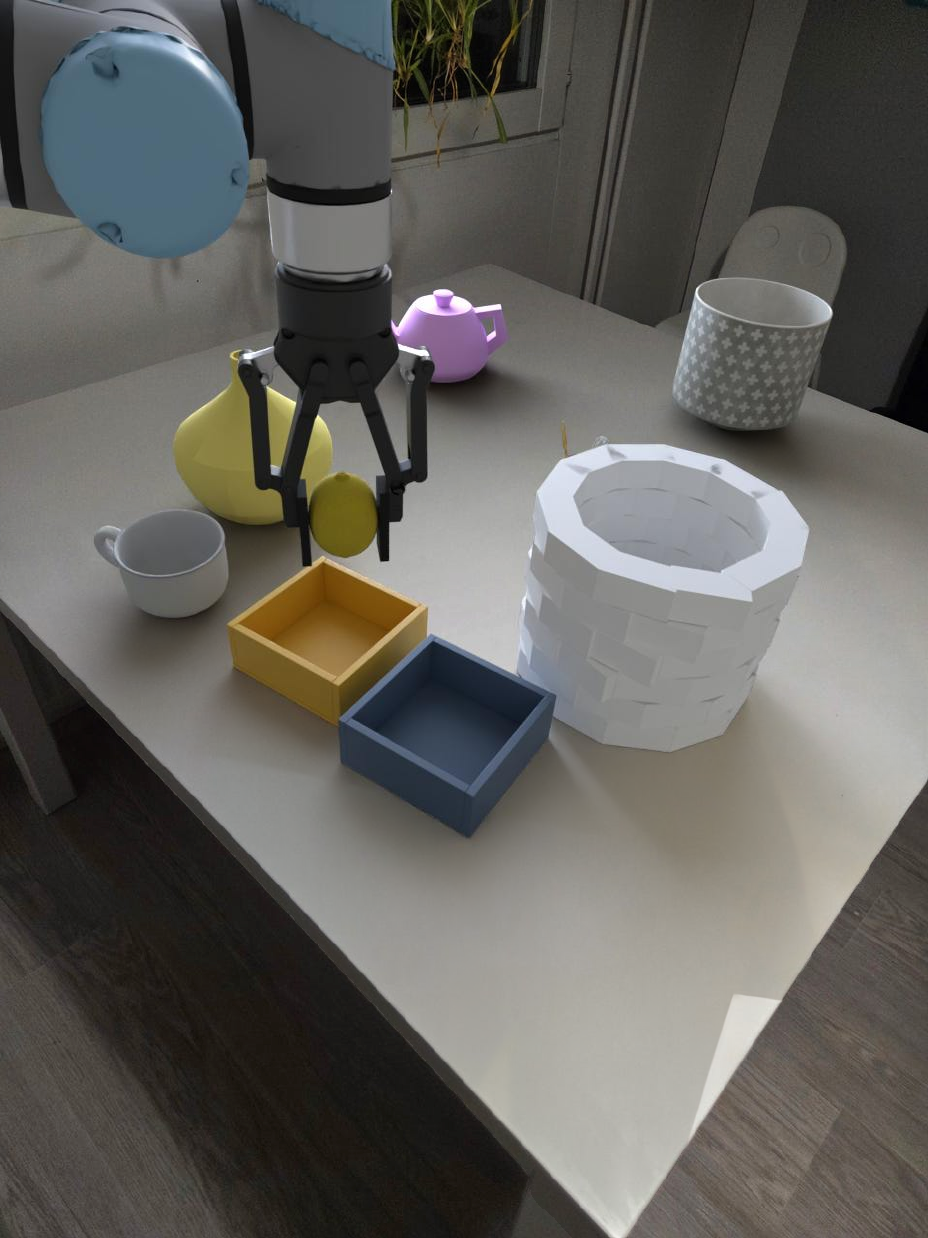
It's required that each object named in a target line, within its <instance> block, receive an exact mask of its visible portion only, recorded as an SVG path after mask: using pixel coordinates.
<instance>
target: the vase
mask: <svg viewBox="0 0 928 1238" xmlns="http://www.w3.org/2000/svg"><path fill="white" fill-rule="evenodd" d="M241 350H242V349H236V350H234V351H231V352H230V354H229V360H230V367H231V375H232V376H231V382H230V383H229V385H228V386H227V388H225V390H223V391H222V392H220V393H219V394H217V396H216V397H214V398H213V399H211V400H210V401H209V402H208V403H206V404H205V405H203V406H202V407H200V408H199V409H197V410H196V411H194V412H193V413H192V414H190V415H189V416H188V417H187V418H186V419H184V420H183V421H182V422H180V424H179V427H177V430H176V432H175V436H174V440H173V445H172V446H173V447H172V448H173V450H172V451H173V458H174V463H175V468H176V471H177V473H178V475H179V476H180V478H181V480H182V481H183V483H184V484H185V486H186V487H187V488H188V490H189V491H190V493H191V494H192V495H193V497H194V498H195V499H196V500H197V501H198V502H199V503H200V504H202V505H203V506H205V508H207V509H209V510H210V511H211V512H213V513H214V514H215V515H217V516H219V517H221V518H223V519H226V520H228V521H231V522H234V523H238V524H242V525H246V526H247V525H248V526H264V525H272V524H275V523H280V522H282V521H283V522H284V519H283V509H282V499H281V495H280V493H279V492H277V491H276V490H273V489H268V490H260V489H258V488H257V487H256V485H255V477H254V463H253V449H252V435H251V421H250V407H249V396H248V394H247V392H246V390H245V388H244V386H243V384H242V382H241V379H240V377H239V375H238V355H239V353H240V351H241ZM252 351H253V352H254V353H255V352H256V351H254V350H252ZM266 386H267V401H268V419H269V437H270V455H271V465H273V466H277V467H281V465H282V461H283V457H284V453H285V448H286V444H287V440H288V436H289V432H290V427H291V423H292V419H293V415H294V411H295V406H296V402H297V401H294V400H292V399H290V398H288V397H286V396H285V395H283V394H281V393H280V392H278V391H276V390H274V389H273V388H271V387H269V386H268V385H266ZM333 447H334V445H333V439H332V436H331V433H330V430H329V428H328V426H327V424H326V422H325V420H323V419H322V418H321V416H320V415H319V414H318V415H317V418H316V419H315V422H314V426H313V430H312V434H311V438H310V442H309V446H308V449H307V453H306V457H305V461H304V465H303V469H302V473H301V477H300V479H306V491H307V503H308V506H309V503H310V499H311V495H312V492H313V490H314V488H315V487H316V485H317V484H318V483H319V482H320V481H321V480H322V479H323V478H325V477H326V476H328V475H329V473H330V470H331V468H332V463H333V459H334V450H333Z"/></svg>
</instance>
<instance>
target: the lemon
mask: <svg viewBox="0 0 928 1238" xmlns="http://www.w3.org/2000/svg"><path fill="white" fill-rule="evenodd" d="M308 517H309V531H310V534H311V536H312V538H313V540H314V542H315V543H316V544H317V546H318V547H319V548H320V549H321V550H322V551H324V552H325V553H327V554H328V555H331V556H333V557H337V558H342V559H348V558H352V557H355V556H358V555H360V554H362V553H363V552H365V551H366V550H368V548H369V547H370V546H371V544H372V543H373V542H374V540H375V539H376V536H377V534H376V532H377V528H378V522H379V514H378V507H377V502H376V494H375V493H374V491H373V489H372V488H371V486H370V484H368V482H367V481H366V480H364V479H363V478H362V477H361V476H359V475H356V474H355V473H354V474H353V473H351V472H347V471H344V470H340V471H338V472H333V473H330V474H328V475H327V476H326V477H325V478H323V479H322V480H321V481H320V482H319V483H318V484H317V485H316V487H315V488H314V490H313V492H312V495H311V499H310V503H309V505H308Z"/></svg>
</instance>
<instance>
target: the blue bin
mask: <svg viewBox="0 0 928 1238" xmlns="http://www.w3.org/2000/svg"><path fill="white" fill-rule="evenodd" d="M555 701H556V695H555V694H553V693H551V692H548V691H547V690H545V689H543V688H541V687H539V686H537V685H535V684H532V683H530V682H528V681H526V680H524V679H522V677H521V676H519V675H516V674H514V673H512V672H510V671H508V670H506V669H504V668H503V667H500V666H498V665H496V664H494V663H492V662H490V661H488V660H486V659H484V658H482V657H480V656H478V655H476V654H474V653H472V652H470V651H468V650H466V649H464V648H461V647H459V646H458V645H455V644H453V643H451V642H449V641H447V640H445V639H443V638H441V637H439V636H438V635H435V634H434V633H429V634H428V635H427V637H426V638H425V639H424V640H423V641H422V642H421V643H420V644H419V645H418V646H417V647H416V648H415V649H413V650H412V651H411V652H410V653H409V654H408V655H407V656H406V657H405V658H404V659H403V660H402V661H401V662H399V663H398V664H397V665H396V666H395V667H394V668H393V669H392V670H391V671H390V672H389V673H388V674H387V675H385V676H384V677H383V678H382V679H381V680H380V681H379V682H378V683H377V684H376V685H375V686H374V687H373V688H371V689H370V690H369V691H368V692H367V693H366V694H365V695H364V696H363V697H362V698H361V699H360V700H359V701H357V702H356V703H355V704H354V705H353V706H352V707H351V708H350V709H349V710H348V711H347V712H346V713H345V714H343V715H342V716H341V717H340V718H339V719H338V727H337V728H338V743H339V760H340V763H342V764H343V765H344V766H346V767H348V768H350V769H351V770H353V771H355V772H357V773H358V774H359V775H361V776H363V777H365V778H366V779H367V780H370V781H372V782H373V783H375V784H376V785H377V786H380V787H381V788H383V789H385V790H386V791H388V792H389V793H391V794H393V795H395V796H397V797H398V798H399V799H402V800H403V801H405V802H407V803H408V804H410V805H411V806H413V807H415V808H416V809H419V810H420V811H422V812H423V813H425V814H426V815H428V816H430V817H432V818H433V819H435V820H437V821H438V822H440V823H442V824H443V825H445V826H447V827H448V828H450V829H452V830H453V831H455V832H457V833H458V834H460V835H461V836H463V837H465V838H467V840H468V839H471V838H472V836H473V834H474V833H475V832H476V831H477V830H478V828H479V827H480V826H481V824H482V823H483V822H484V821H485V819H486V818H487V817H488V815H489V814H490V813H491V812H492V810H493V809H494V807H496V805H497V804H498V803H499V802H500V800H501V799H502V797H503V796H504V795H505V793H506V792H507V791H508V790H509V789H510V787H511V786H512V785H513V783H515V781H516V779H517V778H518V777H519V776H520V775H521V774H522V772H523V770H524V769H526V767H527V766H528V764H529V763H530V762H531V760H532V759H533V758H534V756H535V755H536V754H537V752H538V751H539V750H540V748H541V747H542V746H543V745H544V744H545V742H546V741H547V740H548V739H549V736H550V731H551V727H552V721H553V718H554V717H553V711H554V706H555Z"/></svg>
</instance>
